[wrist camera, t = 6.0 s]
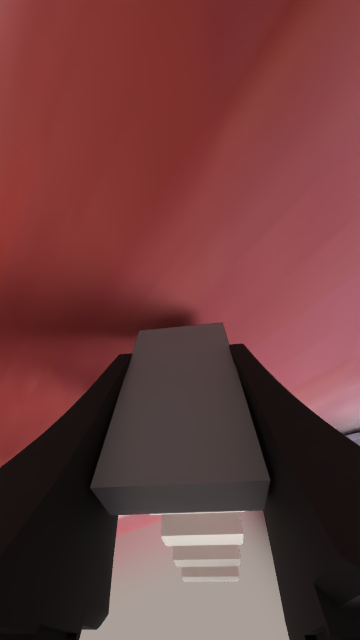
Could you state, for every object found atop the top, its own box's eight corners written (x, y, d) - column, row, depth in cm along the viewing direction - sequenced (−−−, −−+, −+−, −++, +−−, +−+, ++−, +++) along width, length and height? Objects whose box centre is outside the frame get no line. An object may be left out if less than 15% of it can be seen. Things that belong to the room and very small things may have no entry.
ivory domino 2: (175, 449, 20) (172, 560, 14) (223, 446, 20) (240, 558, 14) (178, 459, 21) (176, 567, 15) (223, 456, 21) (240, 566, 15)
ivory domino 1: (168, 417, 17) (160, 536, 11) (222, 414, 17) (243, 534, 11) (171, 430, 18) (165, 546, 12) (222, 427, 18) (242, 544, 12)
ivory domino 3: (181, 473, 22) (181, 576, 16) (224, 471, 22) (239, 576, 16) (183, 481, 23) (184, 581, 17) (224, 479, 23) (238, 581, 17)
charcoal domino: (139, 330, 11) (89, 487, 5) (222, 322, 11) (270, 480, 5) (146, 356, 12) (110, 514, 6) (223, 349, 12) (264, 510, 6)
